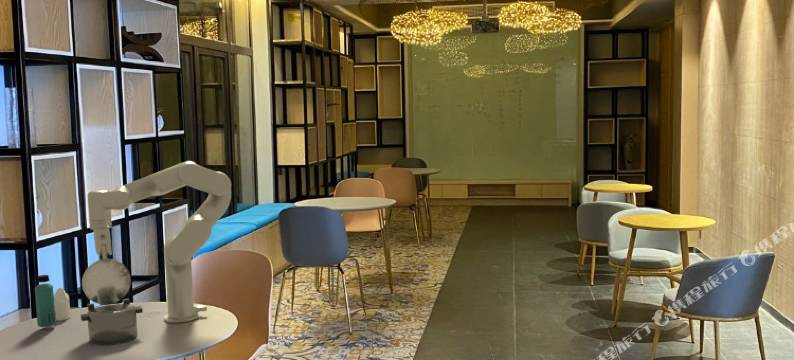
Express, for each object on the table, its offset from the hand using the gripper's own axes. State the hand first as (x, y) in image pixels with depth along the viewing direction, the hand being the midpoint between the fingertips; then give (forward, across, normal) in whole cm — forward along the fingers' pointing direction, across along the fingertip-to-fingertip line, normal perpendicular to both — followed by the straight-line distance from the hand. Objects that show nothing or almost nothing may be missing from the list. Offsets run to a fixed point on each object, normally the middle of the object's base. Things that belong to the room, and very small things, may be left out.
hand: (104, 273), depth 285 cm
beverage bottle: (+20, +9, +20) cm, 30 cm away
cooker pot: (+20, -16, 0) cm, 26 cm away
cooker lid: (+2, -7, 0) cm, 7 cm away
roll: (+20, +22, +14) cm, 33 cm away
